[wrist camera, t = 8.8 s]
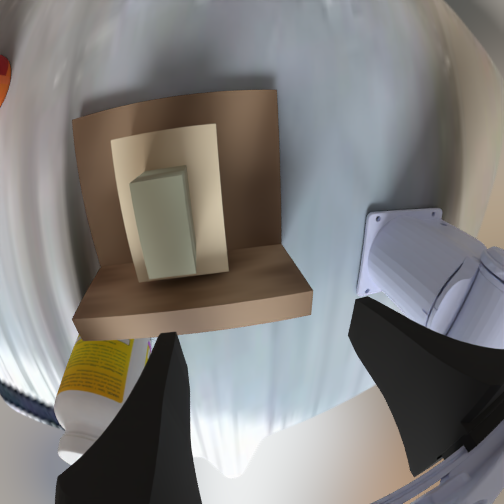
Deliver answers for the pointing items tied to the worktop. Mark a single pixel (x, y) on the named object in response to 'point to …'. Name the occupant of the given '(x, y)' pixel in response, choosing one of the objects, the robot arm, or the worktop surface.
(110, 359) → the supplement bottle
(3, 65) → the coffee cup
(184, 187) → the saddle block
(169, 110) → the cleat board
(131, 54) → the worktop surface
